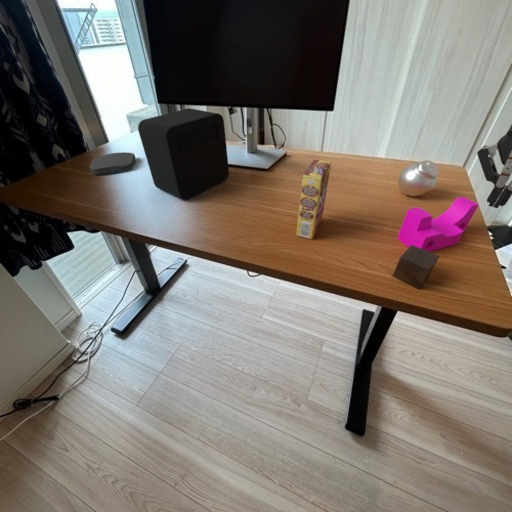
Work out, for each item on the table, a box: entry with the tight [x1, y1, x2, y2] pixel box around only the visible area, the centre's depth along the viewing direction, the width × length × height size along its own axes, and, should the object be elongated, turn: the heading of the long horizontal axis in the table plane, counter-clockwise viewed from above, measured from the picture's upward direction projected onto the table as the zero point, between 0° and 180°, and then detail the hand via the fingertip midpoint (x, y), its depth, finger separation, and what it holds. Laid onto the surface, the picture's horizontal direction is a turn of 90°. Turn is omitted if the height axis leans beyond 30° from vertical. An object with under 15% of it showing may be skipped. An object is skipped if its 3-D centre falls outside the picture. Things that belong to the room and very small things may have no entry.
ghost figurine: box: [397, 159, 440, 197], centre depth 73 cm, size 9×10×10 cm
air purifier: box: [137, 108, 230, 201], centre depth 80 cm, size 20×15×20 cm
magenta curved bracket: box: [396, 196, 480, 252], centre depth 58 cm, size 15×6×8 cm, turn 109°
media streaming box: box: [89, 151, 137, 175], centre depth 100 cm, size 15×15×3 cm
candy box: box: [295, 159, 332, 240], centre depth 60 cm, size 9×4×15 cm, turn 156°
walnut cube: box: [392, 245, 440, 290], centre depth 50 cm, size 5×5×5 cm
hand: (494, 205), depth 50 cm, fingers closed
